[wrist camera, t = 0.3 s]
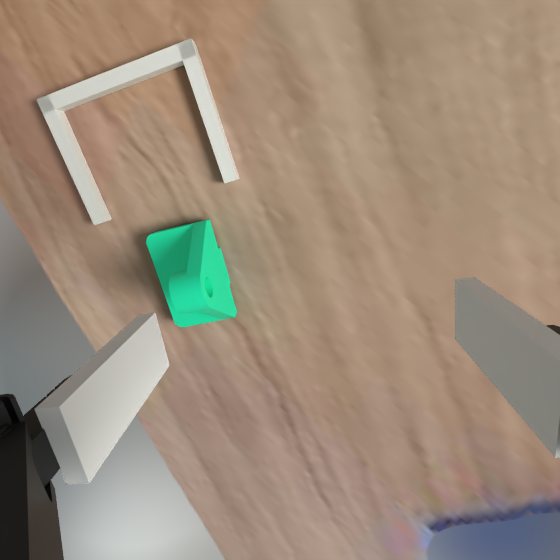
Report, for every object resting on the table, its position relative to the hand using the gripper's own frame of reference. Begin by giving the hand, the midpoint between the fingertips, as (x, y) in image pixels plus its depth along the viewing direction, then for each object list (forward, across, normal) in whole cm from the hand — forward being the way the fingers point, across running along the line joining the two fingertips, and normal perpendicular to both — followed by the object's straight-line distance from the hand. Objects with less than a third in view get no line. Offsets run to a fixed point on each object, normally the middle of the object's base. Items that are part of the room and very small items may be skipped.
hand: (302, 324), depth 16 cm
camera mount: (+28, -14, -4) cm, 32 cm away
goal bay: (+27, -17, +12) cm, 34 cm away
